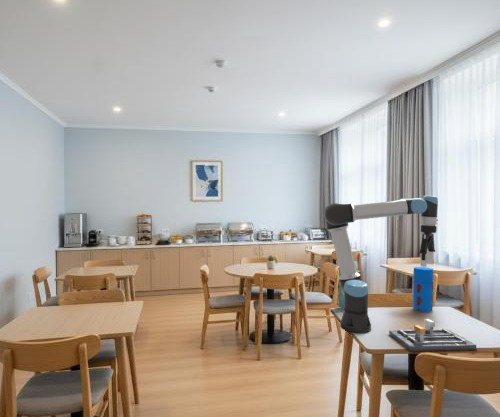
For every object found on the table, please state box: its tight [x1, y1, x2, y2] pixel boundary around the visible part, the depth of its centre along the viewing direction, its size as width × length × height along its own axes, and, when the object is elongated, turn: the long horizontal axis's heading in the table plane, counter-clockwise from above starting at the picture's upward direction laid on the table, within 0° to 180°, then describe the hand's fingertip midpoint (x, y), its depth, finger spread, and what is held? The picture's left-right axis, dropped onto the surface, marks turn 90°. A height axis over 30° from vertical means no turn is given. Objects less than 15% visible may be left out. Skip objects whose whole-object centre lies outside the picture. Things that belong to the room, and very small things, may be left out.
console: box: [388, 328, 477, 352], centre depth 168 cm, size 30×20×3 cm
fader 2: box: [423, 318, 436, 334], centre depth 173 cm, size 2×5×6 cm, turn 5°
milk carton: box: [338, 268, 362, 309], centre depth 222 cm, size 9×9×25 cm
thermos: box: [412, 266, 434, 313], centre depth 221 cm, size 11×11×25 cm
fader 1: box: [413, 324, 425, 342], centre depth 163 cm, size 2×5×6 cm, turn 5°
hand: (426, 265), depth 193 cm, fingers open, 13 cm apart
